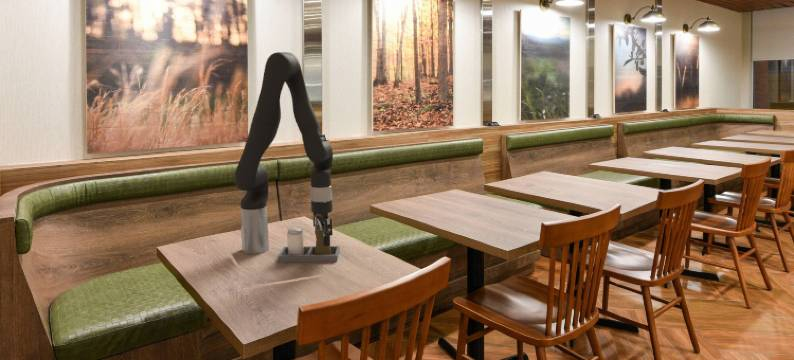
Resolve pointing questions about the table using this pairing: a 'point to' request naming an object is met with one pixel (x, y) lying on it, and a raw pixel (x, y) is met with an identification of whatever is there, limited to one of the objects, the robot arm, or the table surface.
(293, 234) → the salt shaker
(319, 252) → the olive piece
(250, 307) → the table surface
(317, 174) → the robot arm
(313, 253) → the caddy
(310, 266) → the table surface
